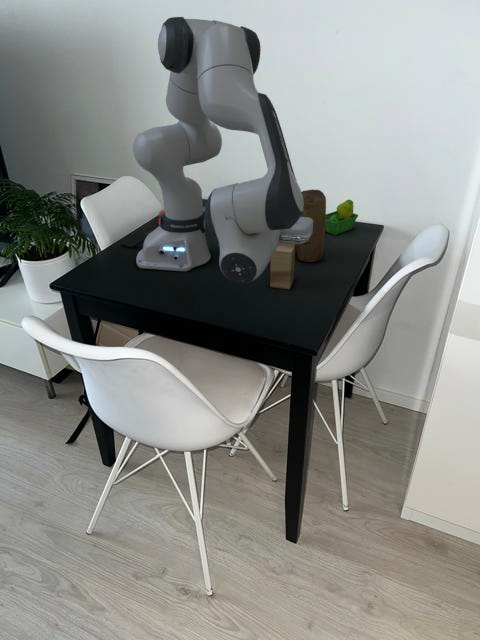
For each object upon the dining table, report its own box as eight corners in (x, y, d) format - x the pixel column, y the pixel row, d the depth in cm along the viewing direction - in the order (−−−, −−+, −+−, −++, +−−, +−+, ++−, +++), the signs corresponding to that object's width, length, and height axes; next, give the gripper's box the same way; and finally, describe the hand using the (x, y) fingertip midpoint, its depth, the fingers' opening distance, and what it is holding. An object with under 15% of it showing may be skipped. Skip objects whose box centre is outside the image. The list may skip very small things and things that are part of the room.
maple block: (289, 289, 138) (291, 252, 132) (270, 287, 139) (270, 250, 133) (293, 280, 142) (295, 244, 136) (274, 278, 144) (275, 242, 138)
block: (323, 263, 151) (329, 198, 141) (298, 264, 151) (302, 199, 140) (316, 248, 160) (320, 185, 150) (292, 249, 160) (295, 186, 149)
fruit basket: (340, 222, 178) (343, 191, 172) (360, 230, 172) (364, 197, 166) (318, 230, 172) (320, 198, 166) (337, 238, 167) (340, 205, 160)
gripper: (309, 227, 102) (319, 204, 114) (213, 217, 107) (232, 196, 119) (307, 255, 106) (317, 230, 117) (214, 245, 111) (232, 222, 122)
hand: (273, 213), depth 118 cm, fingers open, 8 cm apart
